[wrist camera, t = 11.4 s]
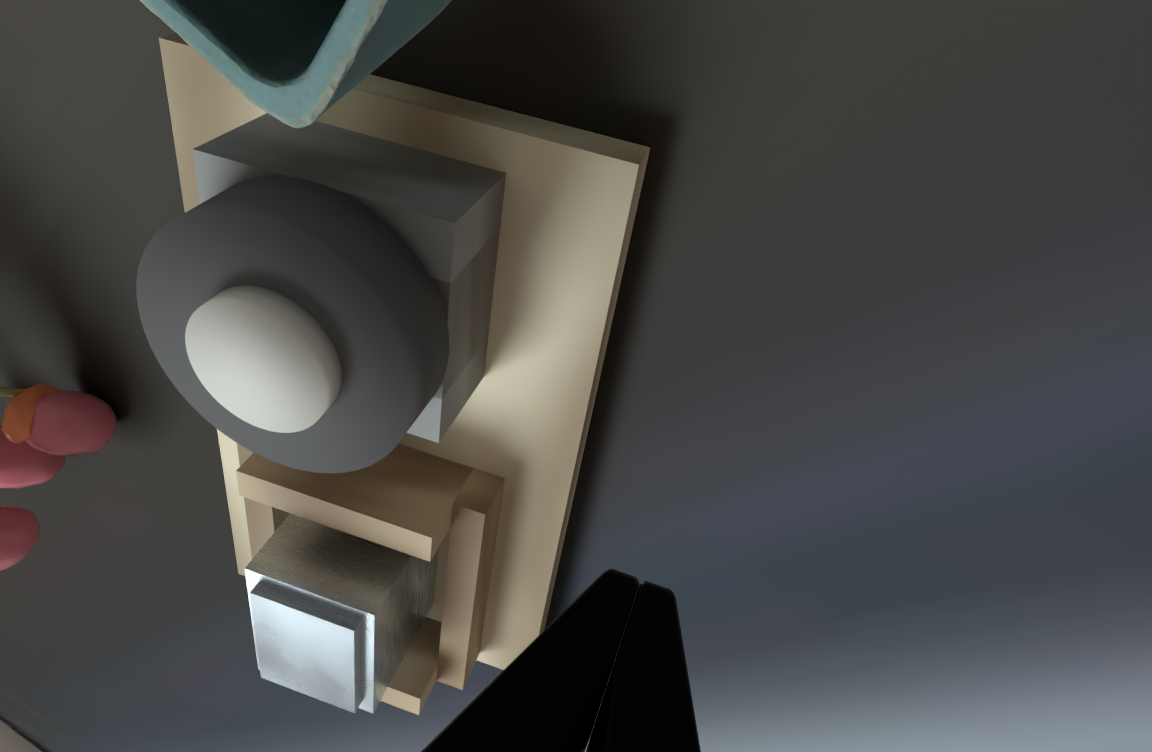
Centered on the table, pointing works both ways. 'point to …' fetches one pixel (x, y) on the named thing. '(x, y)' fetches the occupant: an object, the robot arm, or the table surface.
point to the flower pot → (296, 45)
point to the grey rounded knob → (294, 322)
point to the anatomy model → (43, 451)
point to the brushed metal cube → (335, 611)
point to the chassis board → (476, 337)
